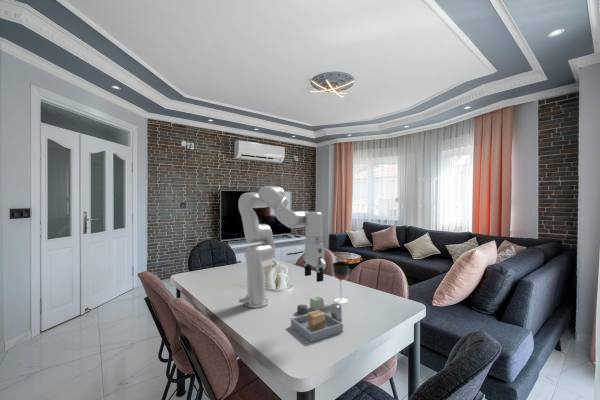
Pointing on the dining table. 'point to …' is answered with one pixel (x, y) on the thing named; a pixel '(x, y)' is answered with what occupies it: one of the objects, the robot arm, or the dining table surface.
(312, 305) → the sage block
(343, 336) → the dining table surface
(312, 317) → the oak block
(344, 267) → the wineglass
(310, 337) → the tray
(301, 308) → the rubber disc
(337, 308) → the metal cylinder
